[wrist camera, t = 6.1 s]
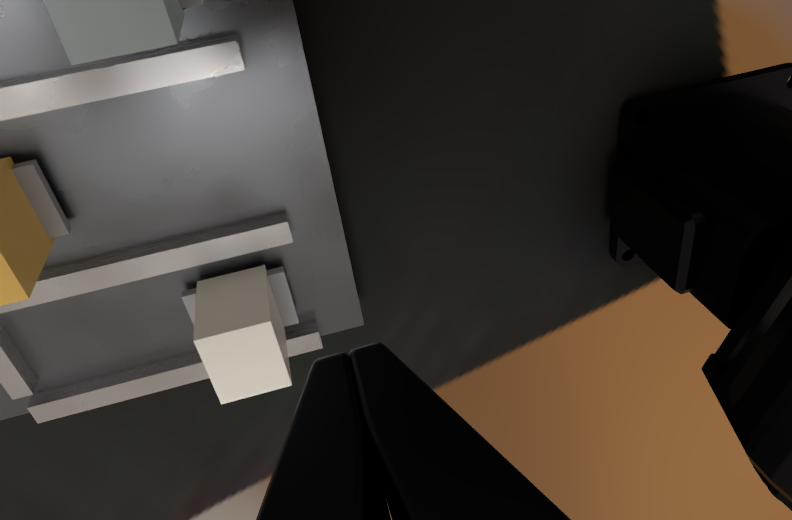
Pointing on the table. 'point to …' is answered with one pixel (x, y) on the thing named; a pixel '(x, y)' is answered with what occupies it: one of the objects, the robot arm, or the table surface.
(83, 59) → the slider blue
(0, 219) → the slider amber
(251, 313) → the slider cream
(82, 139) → the panel
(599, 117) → the table surface
